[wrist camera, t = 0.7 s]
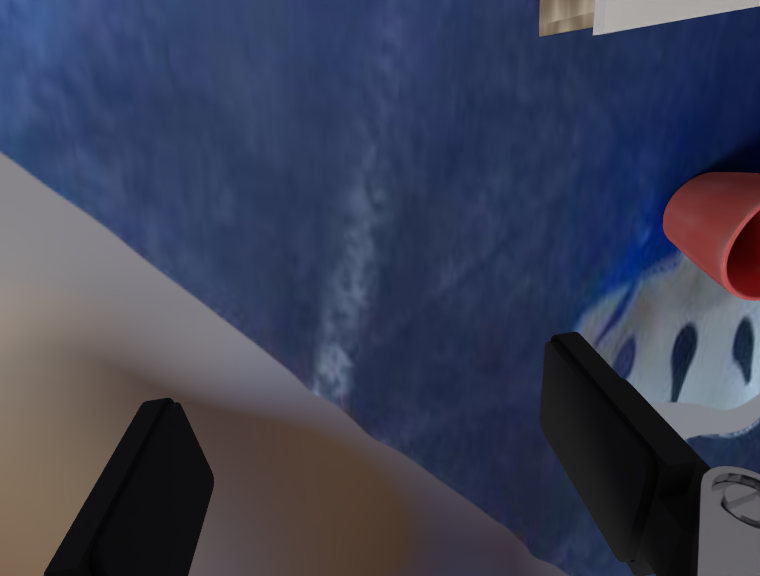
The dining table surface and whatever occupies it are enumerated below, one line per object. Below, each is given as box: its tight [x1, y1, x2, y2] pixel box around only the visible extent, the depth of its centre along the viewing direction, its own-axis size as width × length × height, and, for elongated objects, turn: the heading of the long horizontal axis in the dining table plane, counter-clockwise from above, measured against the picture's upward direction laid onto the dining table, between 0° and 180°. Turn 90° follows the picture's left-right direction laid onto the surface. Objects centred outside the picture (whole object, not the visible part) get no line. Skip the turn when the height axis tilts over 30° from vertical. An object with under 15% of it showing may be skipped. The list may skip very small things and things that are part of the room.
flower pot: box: [663, 172, 760, 300], centre depth 38 cm, size 11×11×10 cm
